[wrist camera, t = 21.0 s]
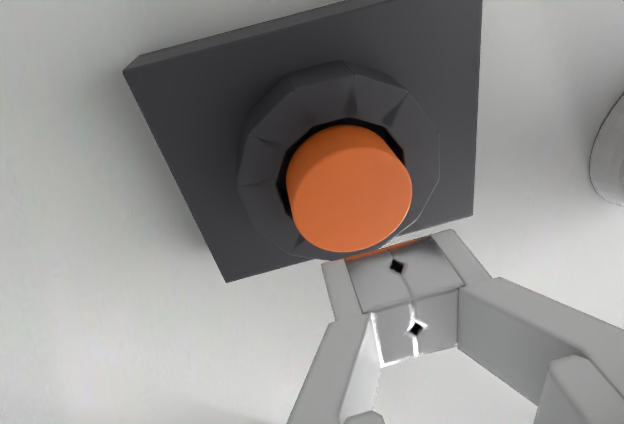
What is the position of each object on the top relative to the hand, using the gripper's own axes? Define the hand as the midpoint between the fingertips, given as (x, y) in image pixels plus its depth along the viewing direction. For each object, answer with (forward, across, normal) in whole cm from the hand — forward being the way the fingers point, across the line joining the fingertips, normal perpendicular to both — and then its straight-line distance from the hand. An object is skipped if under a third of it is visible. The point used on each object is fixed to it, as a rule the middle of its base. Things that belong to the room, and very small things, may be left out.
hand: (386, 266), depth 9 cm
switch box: (+8, 0, 0) cm, 8 cm away
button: (+4, 0, 0) cm, 4 cm away
